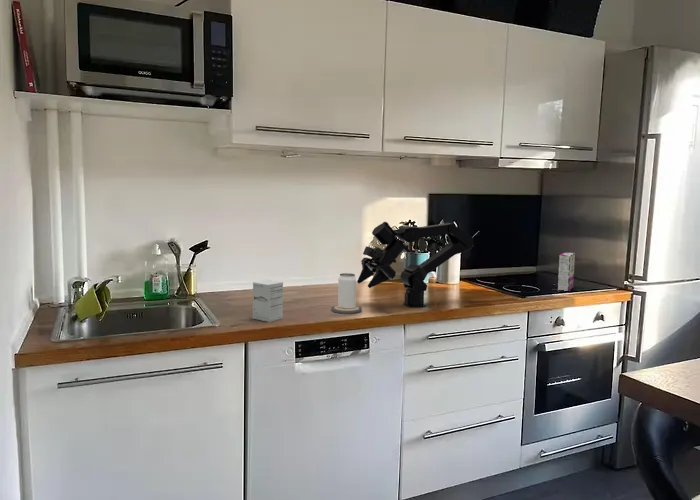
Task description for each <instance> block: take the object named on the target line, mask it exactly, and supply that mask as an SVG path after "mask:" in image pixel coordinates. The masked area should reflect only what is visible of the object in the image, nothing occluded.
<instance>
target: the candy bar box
mask: <svg viewBox="0 0 700 500" xmlns="http://www.w3.org/2000/svg"><path fill="white" fill-rule="evenodd" d="M575 260H576V253H575V252H563V253H561V254H559V256H558V274H557V291H558V290H564V291H569V290H571V289H572V288H573V289H574V282H575V281H574V279H575V262H576V261H575ZM573 289H572V290H573ZM572 290H571V291H572ZM569 292H570V291H569Z"/></svg>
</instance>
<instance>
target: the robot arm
mask: <svg viewBox="0 0 700 500" xmlns="http://www.w3.org/2000/svg"><path fill="white" fill-rule="evenodd" d="M371 234H372V235H373V237H374V238H375V239H376V240H377V241H378V242H379V243H380V244H381V245H383V246H384V245H386V246H385V247H384V249H382V248H380V247H378V246H375V247H370V246H365V248H364V251H363V252H362V255H364V256H368V257H363V258H362V259H361V261H360V263H361V271H360V273H359V274H360V275H359V276H358V279H356V283H357V284H361V283H363V282H364V281H366V280H368V279H369V278H371V277H372V276H373V277H372V278H371V279H370V281H369V283H368V284H367V288H369V289H370V288H373V287H375V286H378V285H380V284H382V283H384V282H386V281H390V280H393V279H394V278H395V277H396V271H395V269H394V268H393V267H392V266H391V265H393V264H395V263H397V258H398V257H399V256H400V255H401V253H402V252H404V253H408V254H409V253H410V247H409V246H410V245H409V244H405V243H414V242H417V241H419V240H421V239H423V238H427V237H435V236H441V235H442V236H443V235H446V237H447V238H448V240H449V241H448V242H447V245H446V246H445V247H443V248H442V249H440V250H438V251H437V252H435V253H434V254H433V255H432V256H430V257H428V259H426V260H424V261H423V262H421V263H420V264H415V263H411V264H409V265H408V266H407V267H405V268H403V270H402V272H401V273H400V281H401V283H402V284H403V287H404V289H405V293H404V302H403V305H405V306H408V307H410V308H418V307H426V306H427V305H426V304H425V292H427V289H428V284H427V283H426V282H425V280H426V278H427V276H428V274H430V273H431V272H433V271H434V270H436V269H437V268H438V267H440V266H442V265H443V264H444V263H445V262H447V261H448V260H450V259H451V258H453V257H454V256H456V255H458V254H462V253H465V252H467V251H469V250H472V248H473V247H474V241H475V240H474V238H473V236H472V235H469V234H467V233H466V232H465V231H464V230H462V229H460V228H459V227H458V226H457V225H456V224H455V223H452V222H451V223H450V222H444V223H440V224H433V225H432V224H431V225H425V226H424V225H423V226H412V225H409V226H408V225H402V226H400V227H398V229H393V228H392V227H391V226H390V224H389V222H387V221H383V222H382V223H380V224H378V225H377V226H375V227H374V229H373V230H372V232H371ZM404 242H405V243H404Z"/></svg>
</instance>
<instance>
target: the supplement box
mask: <svg viewBox="0 0 700 500" xmlns="http://www.w3.org/2000/svg"><path fill="white" fill-rule="evenodd" d="M283 293H284V281H278V280H272V279H261V280H258V281H253V282H252V319H253V320H258V321H263V322H266V323H271V322H274V321H279V320H282V319H283V310H284V308H283V307H284V305H283V303H284V301H283V300H284V298H283V297H284V294H283Z"/></svg>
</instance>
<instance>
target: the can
mask: <svg viewBox="0 0 700 500" xmlns="http://www.w3.org/2000/svg"><path fill="white" fill-rule="evenodd" d="M337 280H338V282H337V283H338V285H337V306H338V307H339V308H342V309H353V308H355V307H356V306H357V277H356V274H355V273H351V272H350V273H349V272H344V273H340V274H339V276H338V279H337Z"/></svg>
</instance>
